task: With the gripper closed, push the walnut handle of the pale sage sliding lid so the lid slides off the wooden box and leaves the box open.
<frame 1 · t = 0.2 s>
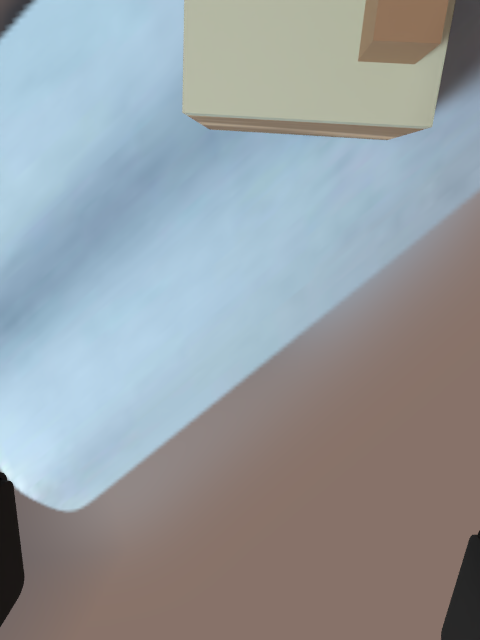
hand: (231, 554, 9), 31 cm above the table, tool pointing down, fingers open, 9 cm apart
wooden box: (308, 16, 32), on the table
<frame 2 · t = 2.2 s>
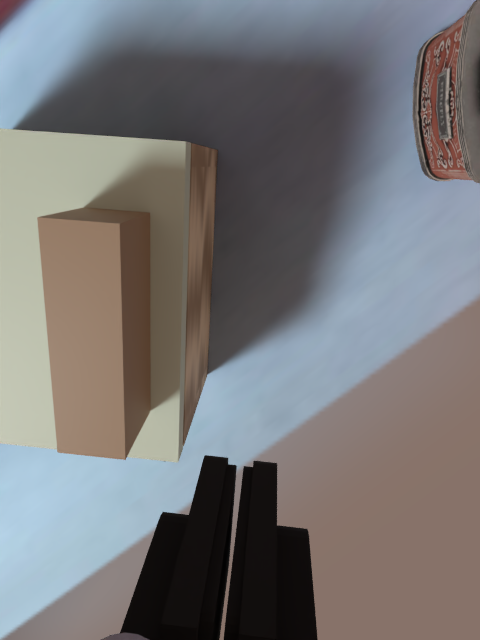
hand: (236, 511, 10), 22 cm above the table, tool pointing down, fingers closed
wooden box: (114, 264, 31), on the table
lighter: (440, 111, 27), on the table
lid: (22, 318, 20), point 12 cm above the table, slide at 0.0 cm
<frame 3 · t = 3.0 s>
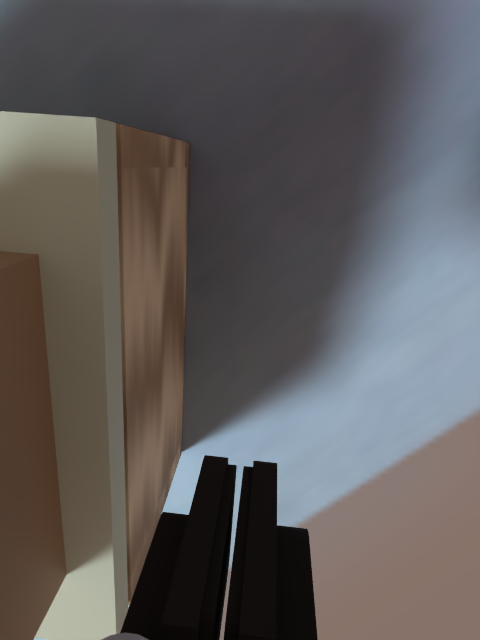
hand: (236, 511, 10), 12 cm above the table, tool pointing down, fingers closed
wooden box: (47, 304, 22), on the table
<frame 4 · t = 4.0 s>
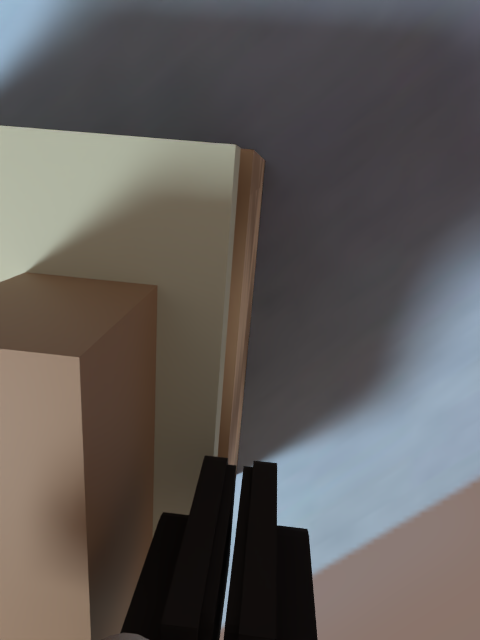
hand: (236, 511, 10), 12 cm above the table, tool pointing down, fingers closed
wooden box: (106, 322, 21), on the table
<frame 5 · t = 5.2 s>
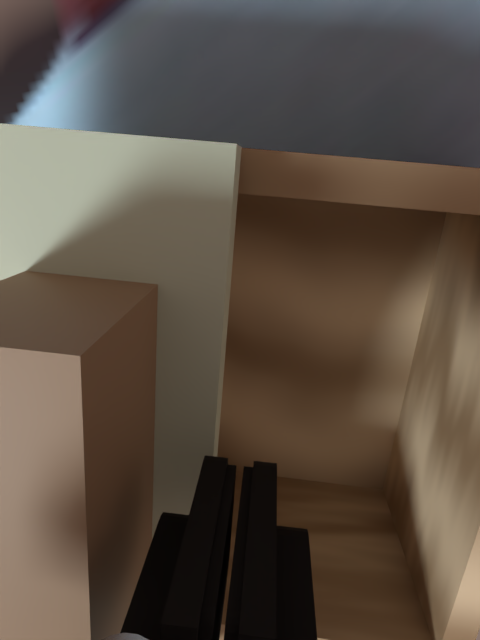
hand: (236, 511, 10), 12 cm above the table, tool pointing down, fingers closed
wooden box: (279, 339, 21), on the table
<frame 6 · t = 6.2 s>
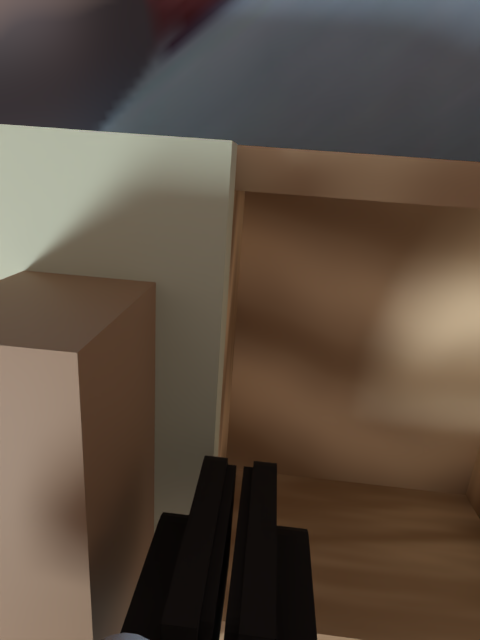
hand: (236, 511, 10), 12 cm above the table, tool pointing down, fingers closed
wooden box: (362, 345, 21), on the table
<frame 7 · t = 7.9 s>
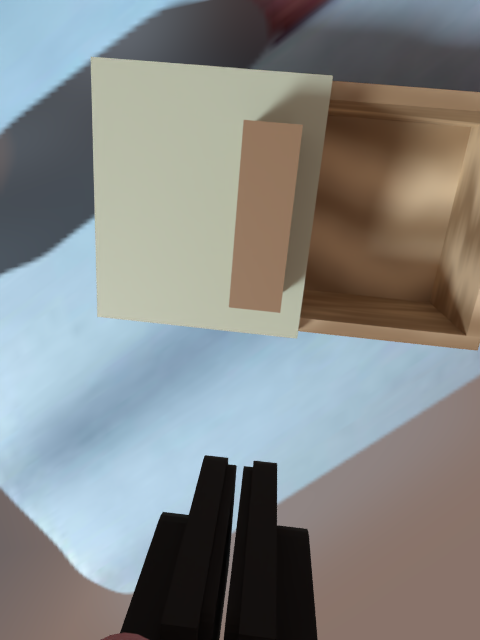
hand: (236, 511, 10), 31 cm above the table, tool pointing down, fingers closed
wooden box: (372, 212, 37), on the table
lid: (198, 211, 26), point 12 cm above the table, slide at 12.7 cm
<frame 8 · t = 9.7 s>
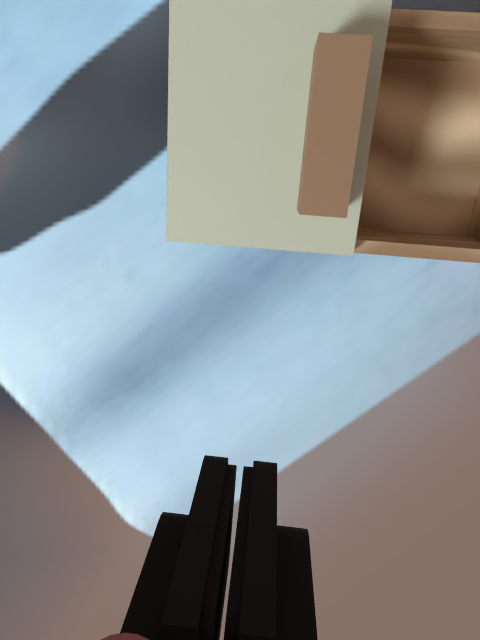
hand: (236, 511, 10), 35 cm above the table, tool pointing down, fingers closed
wooden box: (412, 151, 39), on the table
lid: (267, 130, 29), point 12 cm above the table, slide at 12.7 cm
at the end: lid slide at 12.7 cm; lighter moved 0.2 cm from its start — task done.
